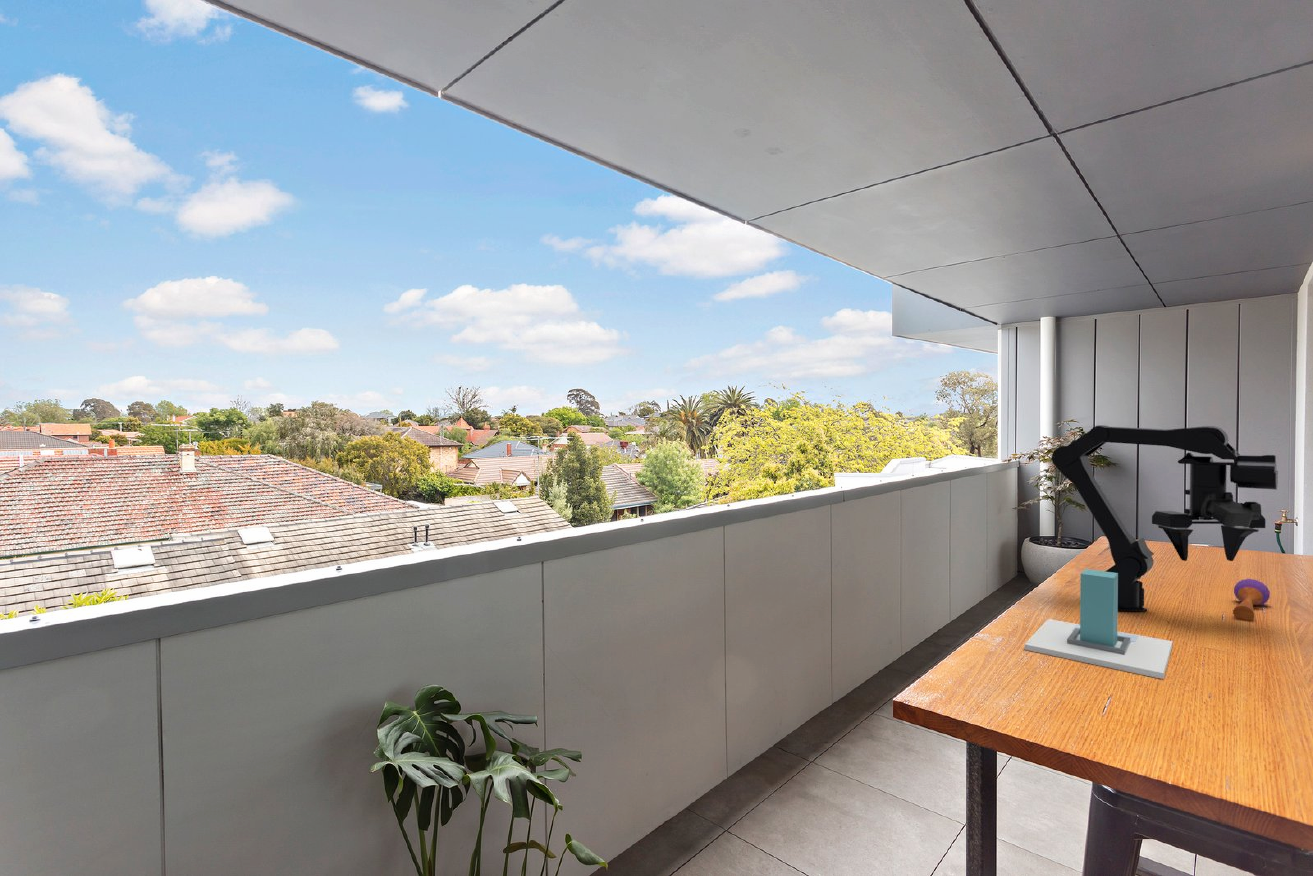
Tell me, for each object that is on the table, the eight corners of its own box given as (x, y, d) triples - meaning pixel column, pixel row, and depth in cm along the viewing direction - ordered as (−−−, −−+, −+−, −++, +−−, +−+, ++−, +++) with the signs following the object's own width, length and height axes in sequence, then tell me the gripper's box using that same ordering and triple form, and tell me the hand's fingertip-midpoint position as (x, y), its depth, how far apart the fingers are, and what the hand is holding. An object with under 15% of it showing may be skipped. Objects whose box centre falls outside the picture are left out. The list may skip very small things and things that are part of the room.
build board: (1048, 623, 129) (1048, 615, 129) (1172, 646, 116) (1172, 637, 116) (1024, 649, 115) (1024, 639, 115) (1163, 679, 101) (1163, 668, 101)
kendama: (1221, 599, 133) (1232, 576, 146) (1228, 627, 133) (1238, 601, 146) (1259, 600, 129) (1267, 576, 142) (1266, 628, 128) (1273, 602, 142)
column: (1085, 636, 119) (1085, 569, 119) (1117, 642, 115) (1117, 573, 115) (1079, 643, 115) (1080, 573, 115) (1113, 649, 112) (1113, 578, 111)
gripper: (1192, 490, 121) (1191, 569, 122) (1292, 490, 120) (1291, 570, 121) (1150, 484, 132) (1149, 557, 133) (1241, 484, 132) (1240, 557, 132)
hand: (1206, 560), depth 129 cm, fingers open, 9 cm apart
